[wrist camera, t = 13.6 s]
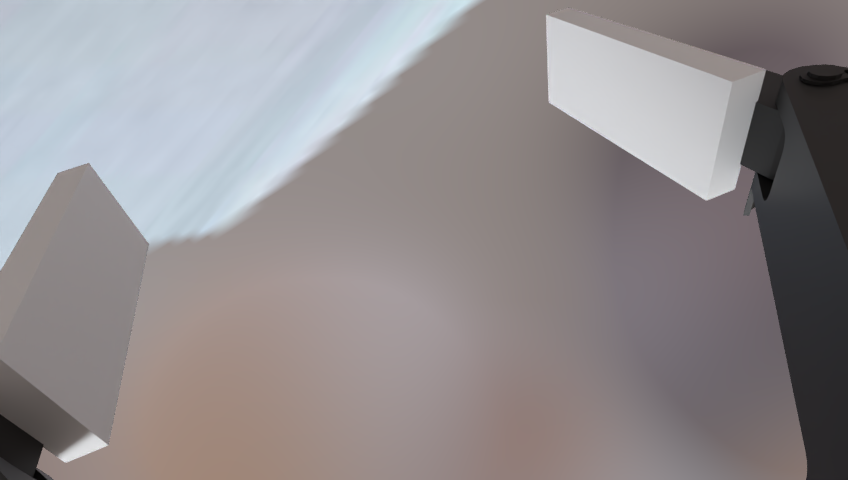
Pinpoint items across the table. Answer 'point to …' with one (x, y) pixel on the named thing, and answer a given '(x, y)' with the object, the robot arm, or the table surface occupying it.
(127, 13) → the table surface
